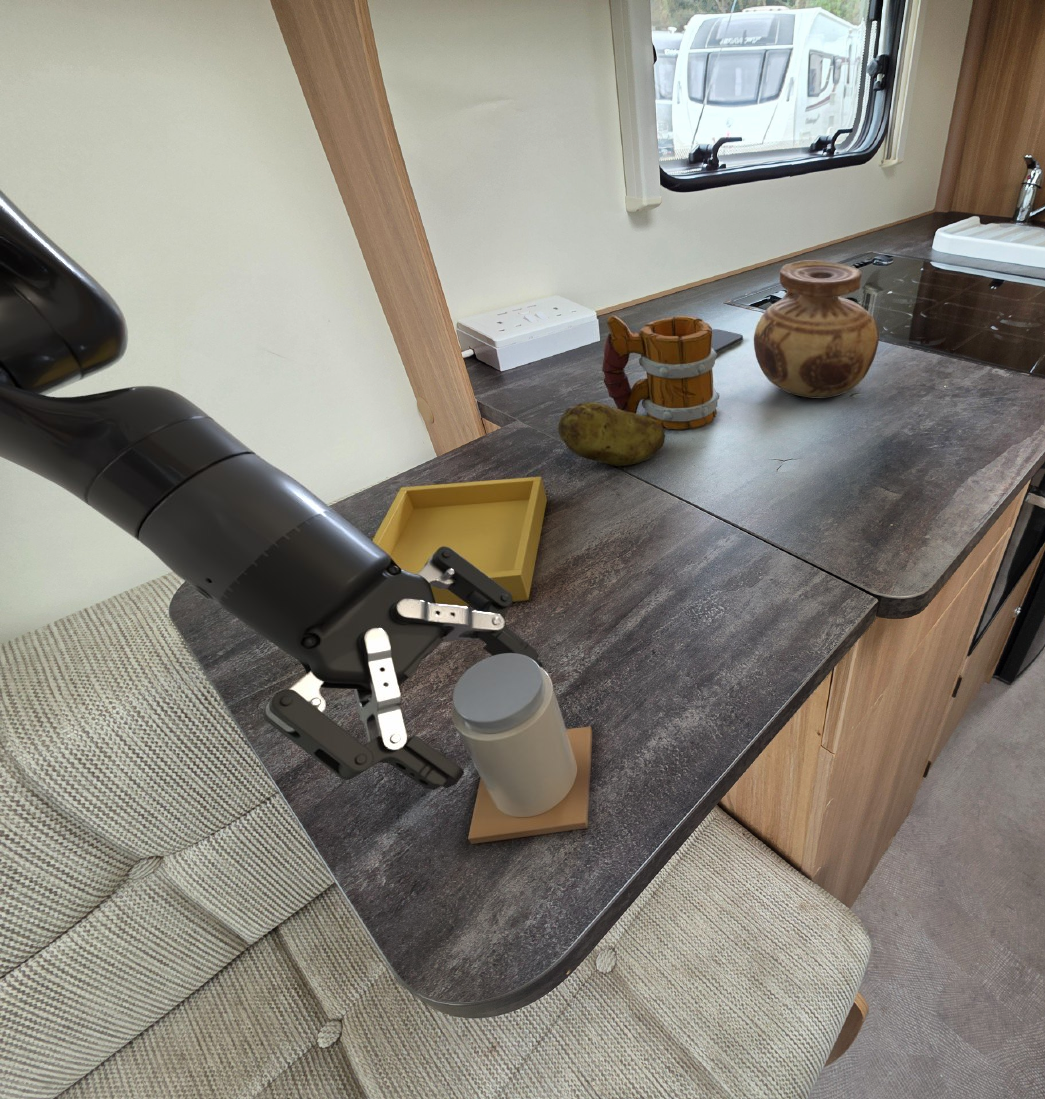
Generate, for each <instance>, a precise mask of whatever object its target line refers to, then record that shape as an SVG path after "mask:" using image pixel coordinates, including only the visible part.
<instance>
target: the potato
mask: <svg viewBox="0 0 1045 1099" xmlns="http://www.w3.org/2000/svg"><path fill="white" fill-rule="evenodd" d="M557 431H558V434H559V437H560V439H561V441H562V442H563V443H564V445H566V447H567V448H568V450H569V451H571V452H572V453H573V454H575V455H576V456H579V458H583V459H586V460H590V461H595V462H600V463H604V464H606V465H610V466H614V467H615V466H617V467H621V466H622V467H623V466H632V465H636V464H639V463H642V462H645V461H646V460H648V459H650V458H651V457H653V456H655V455H656V454H657V453H659V452H660V450H662V448H663V447H664V445H665V440H666V434H665V429H664V427H662V426H661V424H660V423H659V422H657V421H656V420H654V419H652V418H649V417H647V415H643V414H639V413H636V414H635V413H631V412H627V411H623V410H620V409H618V408H616V407H613V406H609V405H606V404H603V403H599V402H582V403H579V404H575V405H574V406H571V407H568V408H567V409H565V411H564V413H563V414H562V416H561V417H560V419H559V421H558V425H557Z"/></svg>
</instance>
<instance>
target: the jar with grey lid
mask: <svg viewBox="0 0 1045 1099" xmlns="http://www.w3.org/2000/svg"><path fill="white" fill-rule="evenodd" d="M553 684H554V683H553V681H552V679H551V677H550V675H549V674H548V672H547V671H546V669H544V668H542V667H539V665H538V664H537V663H536V662H535V661H534V660H533V659H531V658H530V657H527V656H525V655H522V654H517V653H504V654H498V655H494V656H492V655H490V656H488V657H485V658H483V659H481V660H480V661H478V662H475V663H474V664H473V665H472V666H470V667H469V668H468V669H467V670H465V671H464V672H463V674H462V675H461V676H460V677H459V679H458V680H457V682H456V683H455V685H454V688H453V691H452V696H451V698H452V699H451V700H452V705H451V710H450V711H451V712H450V713H451V714H450V716H451V720H452V723H453V726H454V728H455V729H456V732H457V733H458V736H459V737H460V739H461V741H462V744H463V745H464V747H465V749H466V751H467V753H468V755H469V757H470V759H471V761H472V763H473V765H474V767H475V770H476V771H477V773H478V776H479V777H480V779H482V781H483V783H484V785H485V787H486V789H487V791H488V793H489V795H490V797H491V799H492V801H493V803H494V804H495V806H496V807H497V808H498V809H499V810H500V811H502V812H503V813H505V814H507V815H510V816H514V817H531V816H536V815H539V814H542V813H544V812H546V811H548V810H550V809H552V808H553V807H555V806H556V805H557V804H558V803H560V802H561V801H562V800H563V799H564V798H565V797H566V795H567V794H568V793H569V791H570V789H571V788H572V786H573V784H574V781H575V778H576V774H577V763H576V759H575V756H574V752H573V749H572V746H571V743H570V739H569V736H568V733H567V730H566V729H567V727H566V723H565V720H564V718H563V713H562V711H561V707H560V704H559V701H558V697H557V695H556V692H555V688H554V685H553Z"/></svg>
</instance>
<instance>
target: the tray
mask: <svg viewBox="0 0 1045 1099" xmlns="http://www.w3.org/2000/svg"><path fill="white" fill-rule="evenodd" d="M547 501H548V498H547V494H546V490H545V485H544V482H543V478H542V476H531V477H530V476H529V477H519V478H516V477H515V478H505V479H504V478H503V479H492V480H491V479H490V480H480V481H467V482H454V483H441V484H432V485H431V484H429V485H418V486H417V485H416V486H415V485H414V486H403V487H400V488H399V491H398V492H397V494H396V496H395V498H394V499H393V501H392V502H391V503H392V504H391V505H390V507H389V509H388V511H387V513H386V515H385V516H384V518H383V520H382V522H381V524H380V525H379V527H378V530H377V531H376V533H375V535H374V536H373V538H372V539H371V541H373V542H374V543H375V544H376V545H378V546H379V547H380V548H381V549H383V550H384V551H385V552H386V553H388V554H389V555H390V557H391V558H392V559H393V560H394V562H395V563H396V564H397V565H398V566H399V567H400V568H401V569H403V570H405V571H407V572H410V573H414V574H418V573H419V572H420V571H421V570H422V568H423V567H424V565H425V564H426V563H427V561H428V559H429V558H430V557H431V556H432V555H433V554H434V553H435V552H436V551H437V550H438V549H439V548H440V547H443V546H446V547H449V548H451V549H452V550H454V551H455V552H456V553H458V554H459V555H460V556H462V557H463V558H464V559H466V560H467V561H468V562H470V563H471V564H472V565H474V566H475V567H476V568H478V569H479V570H480V571H482V572H483V573H484V574H485V575H487V576H488V577H489V578H491V579H492V580H493V581H495V582H496V583H497V584H499V585H500V586H501V587H503V588H504V589H505V590H507V591H508V592H509V593H510V594H511V595H512V598H513V601H512V603H513V602H523V601H529V599H530V593H531V588H532V582H533V577H534V572H535V566H536V561H537V555H538V551H539V544H540V540H541V534H542V528H543V524H544V519H545V518H544V517H545V513H546V507H547ZM431 588H432V592H433V595H434V599H435V602H436V604H444V605H453V606H461V607H471V606H470V605H468V604H467V603H466V602H464V601H463V600H462V599H460V598H459V597H457V596H456V595H455V594H453V593H452V592H451V591H449V590H448V589H438V588H436V587H435V586H431Z"/></svg>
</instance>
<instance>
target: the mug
mask: <svg viewBox="0 0 1045 1099" xmlns="http://www.w3.org/2000/svg"><path fill="white" fill-rule="evenodd" d="M606 323H607V327H608V329H609V332H610V333H607V334H608V335H607V338H606V341H605V344H604V350H603V360H602V367H601V371H602V373H603V376H604V378H603V383H604V385H605V387H606V389H607V392H608V396H609V398H611V399H613V402H614V404H615V405H616V407H617V409H620V410H623V411H627V412H631V413H635V414H637V413H638V407H639V404H640V403H641V405H642V407H643V408H644V409H645V411H646V417H649V418H652V419H654V420H656V421H657V422H659V423H660V424H661V426H662V427H663V428H665V429H667V430H680V431H681V430H682V431H683V430H687V429H691V430H692V429H693V430H695V429H698V428H699V429H700V428H702V427H705V426H707V425H708V424H710V423H712V421H714V418H716V417H717V407H718V404H719V399H720V393H719V392H718V391H717V390H716V388H715V387H714V373H713V368H714V366H715V364H716V359H717V356H718V355H717V354H718V353H716V352H715V351H714V349H713V348H712V329H713V328H712V326H711V325H710V324H709V323H708V322H706V321H703V319H702V318H699V317H695V316H688V315H678V316H677V315H676V316H673V317H665V318H661V319H656V320H653V321H650V322H648V323H646V324H645V325H644V326H643V327H641V328H640V330H639V331H640V332H631V330H630V328H629V326H628V325H627V323H625V321H623V320H622V319H621V318H620V317H618V316H617V315H616V314H612V315H610V316H608V318H607V319H606ZM631 354H638V355H640V357H639V358H638V363H639V365H640V366H641V367H642V369H643V371H644V372H646V378H640V379H638V380H637V381H636V382H635V383H633V385H632V387H631V383H630V381H629V377H628V375H627V373H626V371H625V368H626V366H627V365H628V363H629V359H630V355H631Z"/></svg>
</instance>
